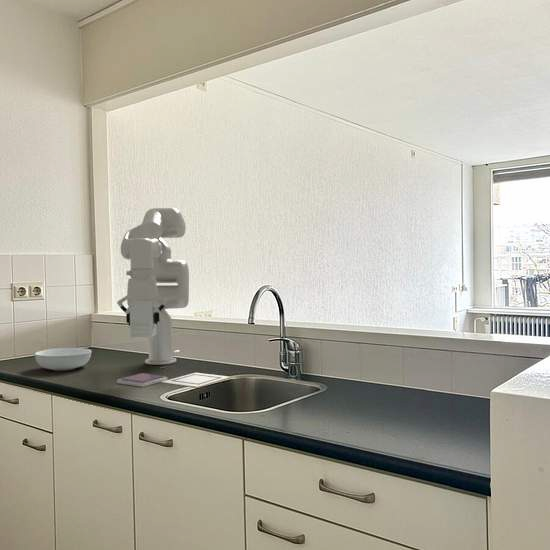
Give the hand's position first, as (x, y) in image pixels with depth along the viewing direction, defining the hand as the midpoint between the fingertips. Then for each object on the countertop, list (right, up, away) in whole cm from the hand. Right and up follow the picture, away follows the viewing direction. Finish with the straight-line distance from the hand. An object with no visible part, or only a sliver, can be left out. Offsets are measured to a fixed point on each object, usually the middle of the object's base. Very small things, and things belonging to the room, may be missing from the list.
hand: (143, 324), depth 197 cm
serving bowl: (-38, -20, +28) cm, 51 cm away
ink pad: (0, -20, 0) cm, 20 cm away
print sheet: (+18, -19, +2) cm, 27 cm away
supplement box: (0, -4, 0) cm, 4 cm away
